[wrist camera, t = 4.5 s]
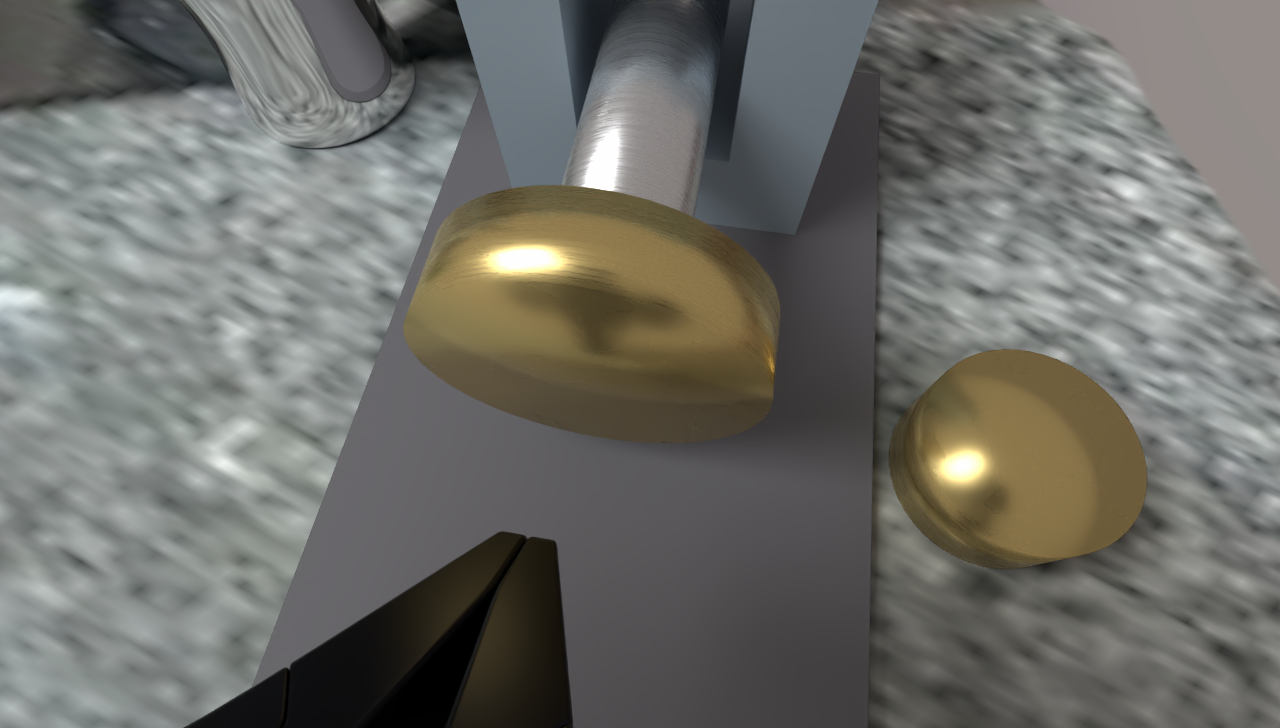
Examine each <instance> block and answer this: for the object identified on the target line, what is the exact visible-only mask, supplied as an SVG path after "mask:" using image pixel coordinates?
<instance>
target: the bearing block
mask: <svg viewBox="0 0 1280 728" xmlns="http://www.w3.org/2000/svg"><path fill="white" fill-rule="evenodd" d="M878 1H879V0H730V6H729V12H728V18H727V24H726V30H725V36H724V42H723V48H722V54H721V60H720V66H719V72H718V78H717V84H716V90H715V96H714V102H713V108H712V114H711V120H710V126H709V132H708V138H707V144H706V150H705V156H704V162H703V168H702V174H701V180H700V186H699V192H698V198H697V204H696V210H695V216H694V218H696V219H698V220H701V221H703V222H704V223H707V224H714V225H722V226H730V227H737V228H745V229H753V230H760V231H768V232H775V233H783V234H791V235H795V234H796V231H797V228H798V225H799V223H800V220H801V217H802V214H803V211H804V209H805V206H806V203H807V200H808V197H809V195H810V192H811V189H812V186H813V183H814V180H815V178H816V175H817V172H818V169H819V166H820V164H821V161H822V158H823V155H824V152H825V150H826V147H827V144H828V141H829V138H830V136H831V133H832V130H833V127H834V124H835V122H836V119H837V116H838V113H839V110H840V107H841V105H842V102H843V99H844V96H845V93H846V91H847V88H848V85H849V82H850V79H851V77H852V74H853V71H854V68H855V65H856V63H857V60H858V57H859V54H860V51H861V48H862V46H863V43H864V40H865V37H866V34H867V32H868V29H869V26H870V23H871V20H872V18H873V15H874V12H875V9H876V6H877V4H878ZM456 2H457V6H458V9H459V12H460V16H461V19H462V22H463V26H464V29H465V32H466V36H467V39H468V42H469V46H470V49H471V52H472V56H473V59H474V62H475V66H476V69H477V72H478V76H479V79H480V83H481V86H482V89H483V93H484V96H485V99H486V103H487V106H488V109H489V113H490V116H491V119H492V123H493V126H494V129H495V133H496V136H497V139H498V143H499V146H500V149H501V153H502V156H503V159H504V163H505V166H506V169H507V173H508V176H509V179H510V183H511V186H512V188H517V187H526V186H534V185H561V184H562V181H563V177H564V174H565V170H566V167H567V163H568V159H569V156H570V152H571V149H572V145H573V142H574V138H575V134H576V131H577V127H578V124H579V120H580V117H581V113H582V110H583V106H584V102H585V99H586V95H587V92H588V88H589V85H590V81H591V78H592V74H593V70H594V67H595V63H596V60H597V56H598V53H599V49H600V46H601V42H602V38H603V35H604V31H605V28H606V24H607V21H608V17H609V14H610V10H611V6H612V3H613V0H456Z"/></svg>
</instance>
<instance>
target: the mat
mask: <svg viewBox="0 0 1280 728" xmlns="http://www.w3.org/2000/svg"><path fill="white" fill-rule="evenodd" d="M879 91H880V75H878V74H868V73H859V72H853V74H852V77H851V79H850V82H849V85H848V88H847V91H846V93H845V96H844V99H843V102H842V105H841V107H840V110H839V113H838V116H837V119H836V122H835V124H834V127H833V130H832V133H831V136H830V138H829V141H828V144H827V147H826V150H825V152H824V155H823V158H822V161H821V164H820V166H819V169H818V172H817V175H816V178H815V180H814V183H813V186H812V189H811V192H810V195H809V197H808V200H807V203H806V206H805V209H804V211H803V214H802V217H801V220H800V223H799V225H798V228H797V231H796V234H795V235H791V234H783V233H775V232H768V231H760V230H753V229H745V228H737V227H730V226H722V225H714V224H708V225H710V226H711V227H713V228H715V229H717V230H718V231H720V232H722V233H723V234H725V235H726V236H728V237H729V238H731V239H732V240H733V241H735V242H736V243H737V244H739V245H740V246H741V247H743V248H744V249H745V250H746V251H747V252H748V253H749V254H750V255H751V256H752V257H754V258H755V259H756V260H757V261H758V262H759V264H760V265H761V266H762V267H763V269H764V270H765V271H766V273H767V274H768V275H769V276H770V278H771V280H772V282H773V284H774V286H775V288H776V290H777V293H778V297H779V301H780V326H779V337H778V348H777V359H776V370H775V382H774V393H773V402H772V405H771V409H770V411H769V412H768V414H767V415H766V416H765V418H764V419H763V420H761V421H760V422H759V423H758V424H757V425H755V426H753V427H751V428H749V429H748V430H746V431H743V432H740V433H738V434H735V435H732V436H728V437H724V438H720V439H714V440H708V441H700V442H690V443H646V442H633V441H623V440H615V439H608V438H601V437H595V436H590V435H584V434H579V433H575V432H570V431H566V430H561V429H558V428H554V427H550V426H546V425H543V424H539V423H536V422H533V421H529V420H526V419H523V418H521V417H518V416H515V415H512V414H509V413H507V412H504V411H502V410H499V409H496V408H494V407H492V406H489V405H487V404H485V403H483V402H481V401H478V400H476V399H474V398H472V397H470V396H468V395H467V394H465V393H463V392H461V391H459V390H457V389H456V388H454V387H452V386H451V385H449V384H447V383H446V382H445V381H443V380H442V379H440V378H439V377H437V376H436V375H435V374H433V373H432V372H431V371H430V370H429V369H428V368H426V367H425V366H424V365H423V364H422V363H421V362H420V361H419V360H418V359H417V358H416V356H415V355H414V354H413V352H412V351H411V349H410V348H409V346H408V345H407V342H406V339H405V337H404V330H403V324H404V321H405V317H406V314H407V312H408V309H409V306H410V303H411V301H412V298H413V295H414V293H415V290H416V287H417V285H418V282H419V279H420V276H421V274H422V271H423V268H424V266H425V263H426V260H427V258H428V255H429V252H430V249H431V247H432V244H433V241H434V239H435V236H436V233H437V231H438V229H439V228H440V226H441V224H442V223H443V221H444V220H445V219H446V218H447V217H448V216H449V215H450V214H451V213H452V212H453V211H454V210H455V209H457V208H459V207H460V206H462V205H464V204H465V203H467V202H469V201H470V200H473V199H475V198H478V197H481V196H483V195H486V194H488V193H492V192H496V191H501V190H505V189H509V188H512V186H511V183H510V179H509V176H508V173H507V169H506V166H505V163H504V159H503V156H502V153H501V149H500V146H499V143H498V139H497V136H496V133H495V129H494V126H493V123H492V119H491V116H490V113H489V109H488V106H487V103H486V99H485V96H484V93H483V89H482V86H481V85H480V88H479V90H478V93H477V96H476V98H475V101H474V103H473V106H472V109H471V111H470V114H469V117H468V119H467V122H466V125H465V127H464V130H463V132H462V135H461V138H460V140H459V143H458V146H457V148H456V151H455V153H454V156H453V159H452V161H451V164H450V167H449V169H448V172H447V175H446V177H445V180H444V182H443V185H442V188H441V190H440V193H439V196H438V198H437V201H436V203H435V206H434V209H433V211H432V214H431V217H430V219H429V222H428V225H427V227H426V230H425V232H424V235H423V238H422V240H421V243H420V246H419V248H418V251H417V254H416V256H415V259H414V261H413V264H412V267H411V269H410V272H409V275H408V277H407V280H406V282H405V285H404V288H403V290H402V293H401V296H400V298H399V301H398V304H397V306H396V309H395V311H394V314H393V317H392V319H391V322H390V325H389V327H388V330H387V332H386V335H385V338H384V340H383V343H382V346H381V348H380V351H379V354H378V356H377V359H376V361H375V364H374V367H373V369H372V372H371V375H370V377H369V380H368V382H367V385H366V388H365V390H364V393H363V396H362V398H361V401H360V404H359V406H358V409H357V411H356V414H355V417H354V419H353V422H352V425H351V427H350V430H349V433H348V435H347V438H346V440H345V443H344V446H343V448H342V451H341V454H340V456H339V459H338V461H337V464H336V467H335V469H334V472H333V475H332V477H331V480H330V483H329V485H328V488H327V490H326V493H325V496H324V498H323V501H322V504H321V506H320V509H319V511H318V514H317V517H316V519H315V522H314V525H313V527H312V530H311V533H310V535H309V538H308V540H307V543H306V546H305V548H304V551H303V554H302V556H301V559H300V562H299V564H298V567H297V569H296V572H295V575H294V577H293V580H292V583H291V585H290V588H289V590H288V593H287V596H286V598H285V601H284V604H283V606H282V609H281V612H280V614H279V617H278V619H277V622H276V625H275V627H274V630H273V633H272V635H271V638H270V640H269V643H268V646H267V648H266V651H265V654H264V656H263V659H262V662H261V664H260V667H259V669H258V672H257V675H256V677H255V680H254V683H253V685H252V687H253V686H255V685H257V684H258V683H260V682H261V681H263V680H265V679H266V678H268V677H269V676H271V675H272V674H274V673H276V672H277V671H279V670H280V669H282V668H284V667H287V668H288V669H289V667H290V664H291V663H292V662H293V661H295V660H297V659H298V658H300V657H301V656H303V655H304V654H306V653H308V652H309V651H311V650H312V649H314V648H316V647H317V646H319V645H320V644H322V643H323V642H325V641H327V640H328V639H330V638H331V637H333V636H335V635H336V634H338V633H339V632H341V631H342V630H344V629H346V628H347V627H349V626H350V625H352V624H354V623H355V622H357V621H358V620H360V619H361V618H363V617H365V616H366V615H368V614H369V613H371V612H372V611H374V610H376V609H377V608H379V607H380V606H382V605H384V604H385V603H387V602H388V601H390V600H391V599H393V598H395V597H396V596H398V595H399V594H401V593H403V592H404V591H406V590H407V589H409V588H410V587H412V586H414V585H415V584H417V583H418V582H420V581H422V580H423V579H425V578H426V577H428V576H429V575H431V574H433V573H434V572H436V571H437V570H439V569H440V568H442V567H444V566H445V565H447V564H448V563H450V562H452V561H453V560H455V559H456V558H458V557H459V556H461V555H463V554H464V553H466V552H467V551H469V550H471V549H472V548H474V547H475V546H477V545H478V544H480V543H482V542H483V541H485V540H486V539H488V538H490V537H491V536H493V535H494V534H496V533H498V532H501V531H506V532H511V533H517V534H522V535H525V536H526V537H527V538H530V537H539V538H545V539H551V540H554V541H555V542H556V543H557V549H558V560H559V571H560V582H561V593H562V604H563V615H564V626H565V637H566V648H567V659H568V670H569V681H570V692H571V703H572V714H573V727H574V728H868V692H869V637H870V583H871V528H872V473H873V419H874V364H875V310H876V255H877V200H878V146H879ZM706 224H707V223H706Z"/></svg>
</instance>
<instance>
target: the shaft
mask: <svg viewBox="0 0 1280 728" xmlns="http://www.w3.org/2000/svg"><path fill="white" fill-rule="evenodd" d="M729 6H730V0H613V3H612V6H611V10H610V14H609V17H608V21H607V24H606V28H605V31H604V35H603V38H602V42H601V46H600V49H599V53H598V56H597V60H596V63H595V67H594V70H593V74H592V78H591V81H590V85H589V88H588V92H587V95H586V99H585V102H584V106H583V110H582V113H581V117H580V120H579V124H578V127H577V131H576V134H575V138H574V142H573V145H572V149H571V152H570V156H569V159H568V163H567V167H566V170H565V174H564V177H563V181H562V184H561V185H534V186H526V187H517V188H509V189H505V190H501V191H496V192H492V193H488V194H486V195H483V196H481V197H478V198H475V199H473V200H470V201H469V202H467V203H465V204H464V205H462V206H460V207H459V208H457V209H455V210H454V211H453V212H452V213H451V214H450V215H449V216H448V217H447V218H446V219H445V220H444V221H443V223H442V224H441V226H440V228H439V229H438V231H437V233H436V236H435V239H434V241H433V244H432V247H431V249H430V252H429V255H428V258H427V260H426V263H425V266H424V268H423V271H422V274H421V276H420V279H419V282H418V285H417V287H416V290H415V293H414V295H413V298H412V301H411V303H410V306H409V309H408V312H407V314H406V317H405V321H404V324H403V330H404V337H405V339H406V342H407V345H408V346H409V348H410V349H411V351H412V352H413V354H414V355H415V356H416V358H417V359H418V360H419V361H420V362H421V363H422V364H423V365H424V366H425V367H426V368H428V369H429V370H430V371H431V372H432V373H433V374H435V375H436V376H437V377H439V378H440V379H442V380H443V381H445V382H446V383H447V384H449V385H451V386H452V387H454V388H456V389H457V390H459V391H461V392H463V393H465V394H467V395H468V396H470V397H472V398H474V399H476V400H478V401H481V402H483V403H485V404H487V405H489V406H492V407H494V408H496V409H499V410H502V411H504V412H507V413H509V414H512V415H515V416H518V417H521V418H523V419H526V420H529V421H533V422H536V423H539V424H543V425H546V426H550V427H554V428H558V429H561V430H566V431H570V432H575V433H579V434H584V435H590V436H595V437H601V438H608V439H615V440H623V441H633V442H646V443H690V442H700V441H708V440H714V439H720V438H724V437H728V436H732V435H735V434H738V433H740V432H743V431H746V430H748V429H749V428H751V427H753V426H755V425H757V424H758V423H759V422H760V421H761V420H763V419H764V418H765V416H766V415H767V414H768V412H769V411H770V409H771V405H772V402H773V393H774V382H775V370H776V359H777V348H778V337H779V326H780V301H779V297H778V293H777V290H776V288H775V286H774V284H773V282H772V280H771V278H770V276H769V275H768V274H767V273H766V271H765V270H764V269H763V267H762V266H761V265H760V264H759V262H758V261H757V260H756V259H755V258H754V257H752V256H751V255H750V254H749V253H748V252H747V251H746V250H745V249H744V248H743V247H741V246H740V245H739V244H737V243H736V242H735V241H733V240H732V239H731V238H729V237H728V236H726V235H725V234H723V233H722V232H720V231H718V230H717V229H715V228H713V227H711V226H710V225H708V224H706V223H704V222H703V221H701V220H698V219H696V218H694V216H695V210H696V204H697V198H698V192H699V186H700V180H701V174H702V168H703V162H704V156H705V150H706V144H707V138H708V132H709V126H710V120H711V114H712V108H713V102H714V96H715V90H716V84H717V78H718V72H719V66H720V60H721V54H722V48H723V42H724V36H725V30H726V24H727V18H728V12H729Z"/></svg>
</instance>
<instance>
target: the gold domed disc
mask: <svg viewBox="0 0 1280 728" xmlns="http://www.w3.org/2000/svg"><path fill="white" fill-rule="evenodd" d="M889 467H890V475H891V479H892V482H893V486H894V489H895V491H896V494H897V496H898V499H899V501H900V502H901V504H902V506H903V508H904V510H905V511H906V513H907V514H908V516H909V517H910V518H911V520H912V521H913V523H914V524H915V525H916V526H917V527H918V528H919V529H920V530H921V532H922V533H924V534H925V535H926V536H927V537H928V538H929V539H930V540H931V541H932V542H934V543H935V544H936V545H938V546H939V547H941V548H942V549H943V550H945V551H947V552H948V553H950V554H952V555H954V556H955V557H957V558H960V559H962V560H964V561H967V562H969V563H972V564H976V565H979V566H982V567H988V568H994V569H1017V568H1024V567H1029V566H1034V565H1038V564H1043V563H1047V562H1052V561H1057V560H1061V559H1066V558H1071V557H1075V556H1080V555H1084V554H1088V553H1092V552H1096V551H1098V550H1100V549H1102V548H1105V547H1107V546H1109V545H1110V544H1112V543H1114V542H1115V541H1117V540H1118V539H1120V538H1121V537H1122V536H1123V535H1124V534H1125V533H1126V532H1127V531H1128V530H1129V529H1130V527H1131V526H1132V525H1133V523H1134V522H1135V521H1136V519H1137V517H1138V515H1139V513H1140V511H1141V509H1142V506H1143V503H1144V499H1145V496H1146V487H1147V468H1146V462H1145V457H1144V453H1143V450H1142V447H1141V443H1140V441H1139V438H1138V436H1137V434H1136V432H1135V430H1134V428H1133V426H1132V424H1131V423H1130V421H1129V419H1128V418H1127V416H1126V415H1125V413H1124V412H1123V411H1122V409H1121V408H1120V406H1119V405H1118V404H1117V403H1116V402H1115V401H1114V399H1113V398H1112V397H1111V396H1110V395H1109V394H1108V393H1107V392H1106V391H1105V390H1104V389H1103V388H1101V387H1100V386H1099V385H1098V384H1097V383H1096V382H1094V381H1093V380H1092V379H1090V378H1089V377H1088V376H1086V375H1085V374H1083V373H1082V372H1080V371H1078V370H1077V369H1075V368H1073V367H1072V366H1070V365H1068V364H1066V363H1063V362H1061V361H1059V360H1057V359H1054V358H1051V357H1049V356H1046V355H1042V354H1038V353H1034V352H1030V351H1023V350H1007V349H1003V350H992V351H987V352H983V353H978V354H976V355H973V356H970V357H968V358H966V359H964V360H962V361H960V362H959V363H957V364H955V365H954V366H953V367H952V368H950V369H949V370H948V371H947V372H946V373H944V374H943V375H942V376H941V377H940V378H939V379H938V380H937V381H936V382H935V383H934V384H933V385H932V386H931V387H929V388H928V389H927V390H926V391H925V392H924V393H923V394H922V395H921V396H920V397H919V398H918V399H917V400H916V401H915V402H913V403H912V404H911V405H910V406H909V407H908V408H907V410H906V411H905V412H904V413H903V414H902V416H901V417H900V419H899V420H898V422H897V424H896V426H895V428H894V431H893V434H892V437H891V441H890V448H889Z"/></svg>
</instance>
